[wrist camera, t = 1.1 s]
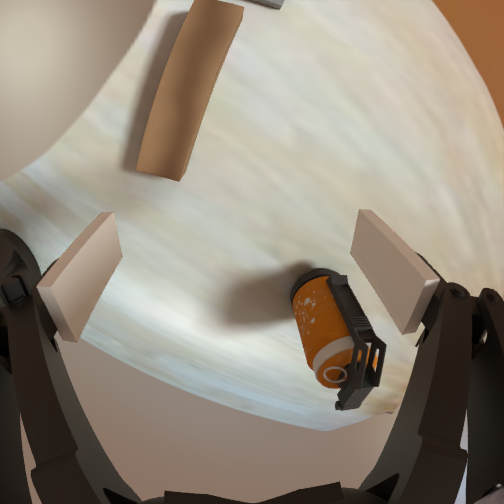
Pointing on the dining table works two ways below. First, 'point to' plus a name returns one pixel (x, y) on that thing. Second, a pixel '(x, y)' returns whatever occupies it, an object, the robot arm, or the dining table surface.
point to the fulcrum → (271, 3)
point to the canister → (337, 337)
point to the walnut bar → (187, 87)
